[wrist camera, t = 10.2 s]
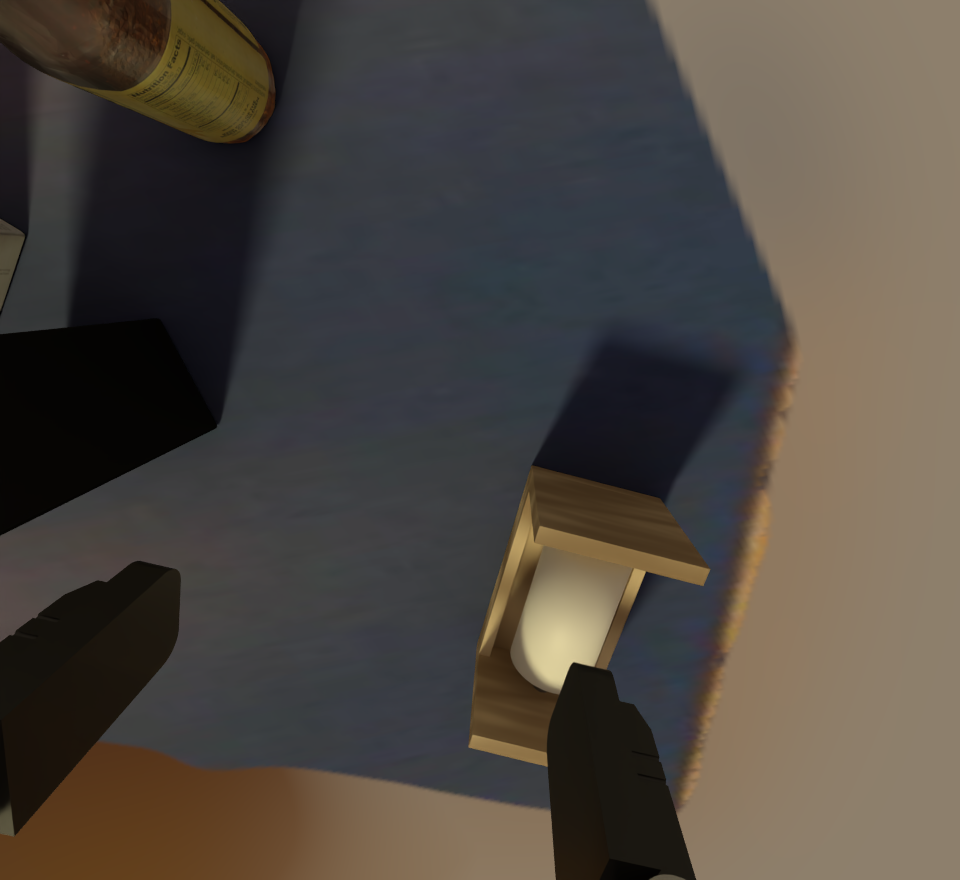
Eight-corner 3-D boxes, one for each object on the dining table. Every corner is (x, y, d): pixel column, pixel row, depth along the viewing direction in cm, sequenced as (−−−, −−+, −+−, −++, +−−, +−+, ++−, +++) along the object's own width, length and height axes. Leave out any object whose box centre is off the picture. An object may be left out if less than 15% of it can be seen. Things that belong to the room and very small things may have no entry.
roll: (547, 509, 34) (553, 549, 29) (626, 529, 34) (647, 573, 29) (508, 633, 37) (507, 690, 32) (581, 651, 37) (592, 711, 32)
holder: (531, 465, 34) (539, 525, 26) (660, 498, 35) (710, 569, 26) (477, 644, 39) (468, 747, 30) (591, 673, 39) (614, 783, 30)
